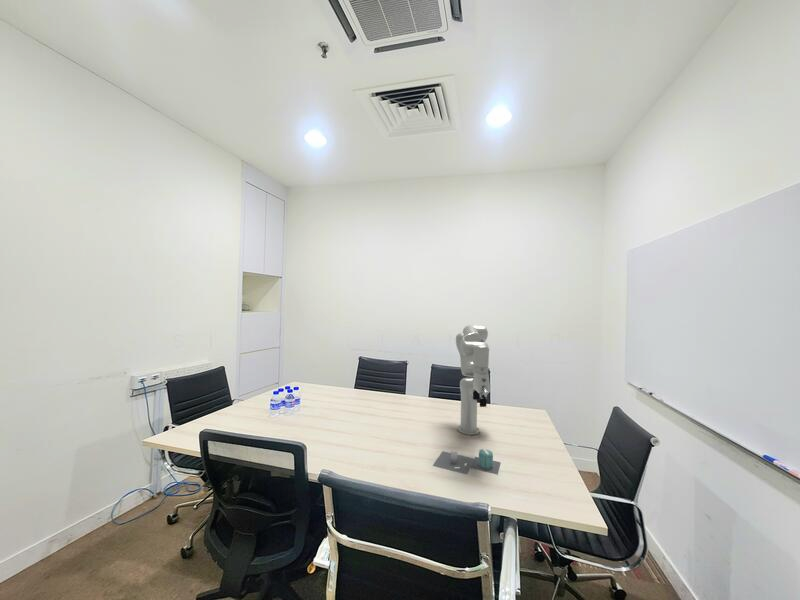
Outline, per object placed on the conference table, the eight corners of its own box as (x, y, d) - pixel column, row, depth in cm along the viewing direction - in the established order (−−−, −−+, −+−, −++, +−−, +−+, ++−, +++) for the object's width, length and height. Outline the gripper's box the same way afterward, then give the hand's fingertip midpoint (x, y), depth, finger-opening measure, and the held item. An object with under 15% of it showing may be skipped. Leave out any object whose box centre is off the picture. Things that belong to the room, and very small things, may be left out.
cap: (477, 461, 147) (477, 448, 147) (489, 461, 148) (489, 448, 148) (481, 468, 141) (481, 454, 141) (494, 468, 142) (494, 454, 142)
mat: (475, 457, 152) (475, 456, 152) (500, 463, 147) (500, 462, 147) (470, 469, 141) (470, 467, 141) (497, 475, 136) (497, 474, 136)
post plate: (442, 452, 157) (442, 442, 157) (474, 459, 150) (474, 449, 151) (432, 466, 142) (432, 456, 143) (467, 475, 136) (467, 464, 136)
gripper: (494, 374, 148) (493, 409, 148) (481, 365, 165) (480, 396, 166) (479, 374, 147) (478, 409, 148) (467, 365, 164) (466, 397, 165)
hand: (479, 402), depth 157 cm, fingers open, 9 cm apart
